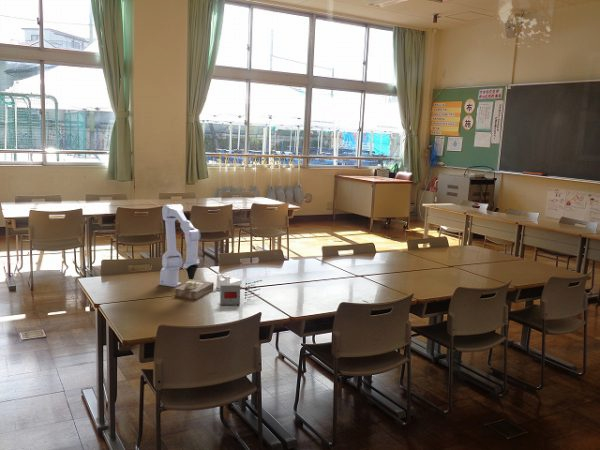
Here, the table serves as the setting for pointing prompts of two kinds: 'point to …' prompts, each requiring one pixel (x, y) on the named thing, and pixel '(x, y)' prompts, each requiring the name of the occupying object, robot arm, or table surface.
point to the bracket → (227, 281)
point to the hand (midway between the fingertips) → (191, 278)
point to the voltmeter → (233, 294)
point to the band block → (194, 290)
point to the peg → (190, 285)
